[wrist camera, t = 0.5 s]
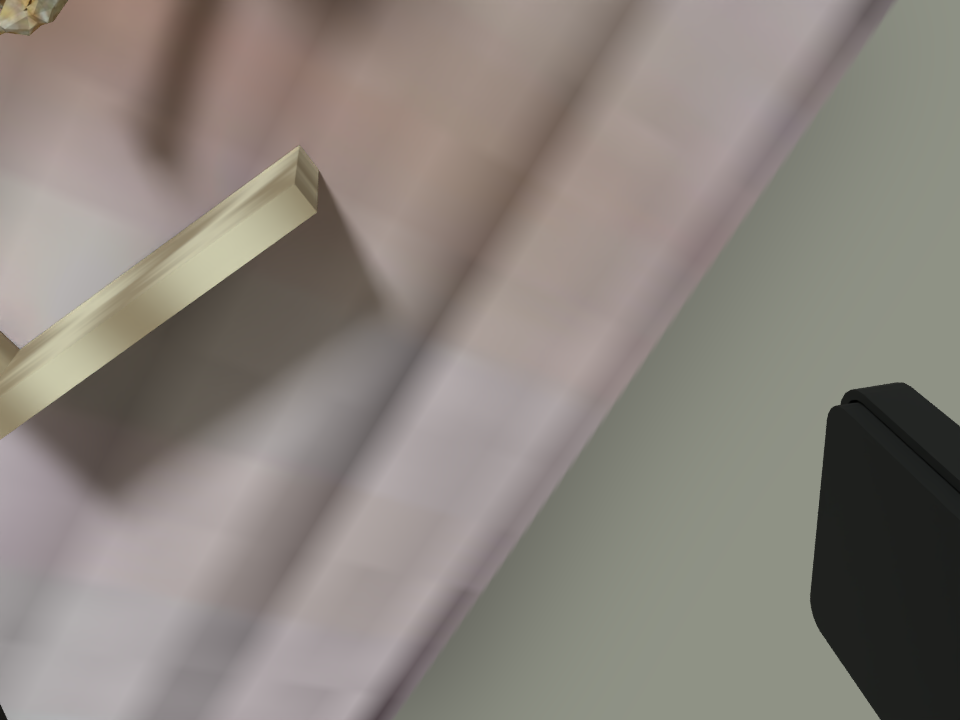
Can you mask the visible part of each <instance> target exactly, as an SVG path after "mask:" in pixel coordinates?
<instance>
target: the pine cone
mask: <svg viewBox="0 0 960 720" xmlns="http://www.w3.org/2000/svg"><path fill="white" fill-rule="evenodd" d="M67 1H68V0H0V9H2V11H1V14H0V35H1V34H3V33H14V34H21V35H28V36H30V35H31V34H32V33H33V32H34V31H35V30H36V29H37V28H38V27H40V26H41V25H44V24H47V23H50V22H53V21H54V20H55V18H56V17H57V15H58V14H59V13H60V11H61V10H62V8H63V7H64V5H65V4H66V3H67Z"/></svg>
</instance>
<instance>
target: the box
mask: <svg viewBox="0 0 960 720" xmlns="http://www.w3.org/2000/svg"><path fill="white" fill-rule="evenodd" d="M318 173H319V170H318V168H317V167H316V166H315V165H314V163H313V162H312V161H311V159H310V158H309V157H308V156H307V154H306V153H305V152H304V150H303V149H302V148H301V147H300V145H299V146H297V147H296V148H295V149H293V150H292V151H291V152H289V153H288V154H287V155H285V156H284V157H282V158H281V159H280V160H278V161H277V162H276V163H274V164H273V165H272V166H270V167H269V168H267V169H266V170H265V171H263V172H262V173H261V174H259V175H258V176H256V177H255V178H254V179H252V180H251V181H250V182H248V183H247V184H246V185H244V186H243V187H241V188H240V189H239V190H237V191H236V192H235V193H233V194H232V195H231V196H229V197H228V198H226V199H225V200H224V201H222V202H221V203H220V204H218V205H217V206H215V207H214V208H213V209H211V210H210V211H209V212H207V213H206V214H205V215H203V216H202V217H200V218H199V219H198V220H196V221H195V222H194V223H192V224H191V225H189V226H188V227H187V228H185V229H184V230H183V231H181V232H180V233H179V234H177V235H176V236H174V237H173V238H172V239H170V240H169V241H168V242H166V243H165V244H164V245H162V246H161V247H159V248H158V249H157V250H155V251H154V252H153V253H151V254H150V255H148V256H147V257H146V258H144V259H143V260H142V261H140V262H139V263H138V264H136V265H135V266H133V267H132V268H131V269H129V270H128V271H127V272H125V273H124V274H123V275H121V276H120V277H118V278H117V279H116V280H114V281H113V282H112V283H110V284H109V285H107V286H106V287H105V288H103V289H102V290H101V291H99V292H98V293H97V294H95V295H94V296H92V297H91V298H90V299H88V300H87V301H86V302H84V303H83V304H81V305H80V306H79V307H77V308H76V309H75V310H73V311H72V312H71V313H69V314H68V315H66V316H65V317H64V318H62V319H61V320H60V321H58V322H57V323H56V324H54V325H53V326H51V327H50V328H49V329H47V330H46V331H45V332H43V333H42V334H40V335H39V336H38V337H36V338H35V339H34V340H32V341H31V342H30V343H28V344H27V345H25V346H24V347H23V348H21V349H19V348H17V347H16V346H15V345H14V344H13V343H12V342H11V341H10V340H9V339H8V338H7V337H6V336H5V335H4V334H2V333H1V332H0V439H2V438H3V437H5V436H6V435H7V434H9V433H10V432H12V431H13V430H14V429H16V428H17V427H19V426H20V425H21V424H23V423H24V422H26V421H27V420H28V419H30V418H31V417H33V416H34V415H35V414H37V413H38V412H40V411H41V410H42V409H44V408H45V407H46V406H48V405H49V404H51V403H52V402H53V401H55V400H56V399H58V398H59V397H60V396H62V395H63V394H65V393H66V392H67V391H69V390H70V389H72V388H73V387H74V386H76V385H77V384H79V383H80V382H81V381H83V380H84V379H85V378H87V377H88V376H90V375H91V374H92V373H94V372H95V371H97V370H98V369H99V368H101V367H102V366H104V365H105V364H106V363H108V362H109V361H111V360H112V359H113V358H115V357H116V356H118V355H119V354H120V353H122V352H123V351H125V350H126V349H127V348H129V347H130V346H131V345H133V344H134V343H136V342H137V341H138V340H140V339H141V338H143V337H144V336H145V335H147V334H148V333H150V332H151V331H152V330H154V329H155V328H157V327H158V326H159V325H161V324H162V323H164V322H165V321H166V320H168V319H169V318H171V317H172V316H173V315H175V314H176V313H177V312H179V311H180V310H182V309H183V308H184V307H186V306H187V305H189V304H190V303H191V302H193V301H194V300H196V299H197V298H198V297H200V296H201V295H203V294H204V293H205V292H207V291H208V290H210V289H211V288H212V287H214V286H215V285H217V284H218V283H219V282H221V281H222V280H223V279H225V278H226V277H228V276H229V275H230V274H232V273H233V272H235V271H236V270H237V269H239V268H240V267H242V266H243V265H244V264H246V263H247V262H249V261H250V260H251V259H253V258H254V257H256V256H257V255H258V254H260V253H261V252H263V251H264V250H265V249H267V248H268V247H269V246H271V245H272V244H274V243H275V242H276V241H278V240H279V239H281V238H282V237H283V236H285V235H286V234H288V233H289V232H290V231H292V230H293V229H295V228H296V227H297V226H299V225H300V224H302V223H303V222H304V221H306V220H307V219H308V218H310V217H311V216H313V215H314V214H315V213H317V201H318Z"/></svg>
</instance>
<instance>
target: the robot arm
mask: <svg viewBox="0 0 960 720" xmlns="http://www.w3.org/2000/svg"><path fill="white" fill-rule="evenodd" d="M810 602H811V609H812V613H813V617H814V619H815V622H816V624H817V627H818V628H819V630H820V632H821V633H822V635H823V636H824V638H825V639H826V640H827V642H828V644H829V645H830V646H831V648H832V649H833V651H834V652H835V654H836V655H837V657H838V658H839V660H840V661H841V663H842V664H843V665H844V667H845V668H846V670H847V671H848V673H849V674H850V676H851V677H852V679H853V680H854V682H855V683H856V684H857V686H858V687H859V689H860V690H861V692H862V693H863V695H864V696H865V698H866V699H867V701H868V702H869V703H870V705H871V706H872V708H873V709H874V711H875V712H876V714H877V715H878V717H879V718H880V719H881V720H960V426H959V425H957V424H956V423H955V422H954V421H953V420H951V419H950V418H949V417H948V416H946V415H945V414H944V413H943V412H941V411H940V410H939V409H938V408H937V407H935V406H934V405H933V404H932V403H930V402H929V401H928V400H927V399H925V398H924V397H923V396H922V395H920V394H919V393H918V392H917V391H916V390H914V389H913V388H912V387H911V386H909V385H907V384H905V383H891V384H884V385H879V386H872V387H866V388H859V389H853V390H850V391H848V392H847V393H845V395H844V396H843V398H842V400H841V405H838V406H834V407H833V408H831V410H830V412H829V413H828V418H827V426H826V437H825V447H824V458H823V468H822V478H821V490H820V500H819V510H818V520H817V530H816V541H815V551H814V562H813V573H812V583H811V593H810ZM0 720H7V718H6V716H5V713H4V711H3V709H2V707H1V705H0Z"/></svg>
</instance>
